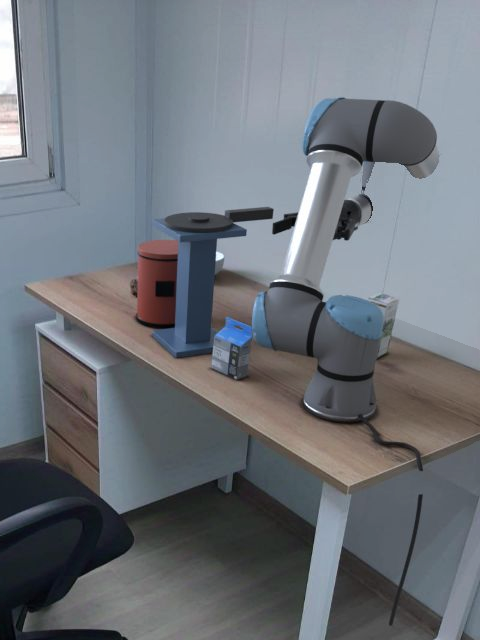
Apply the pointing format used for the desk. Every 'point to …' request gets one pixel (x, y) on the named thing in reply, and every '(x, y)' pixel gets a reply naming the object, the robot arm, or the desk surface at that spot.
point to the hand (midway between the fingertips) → (294, 234)
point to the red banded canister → (157, 283)
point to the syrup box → (385, 318)
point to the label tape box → (232, 349)
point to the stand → (193, 291)
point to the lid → (215, 219)
